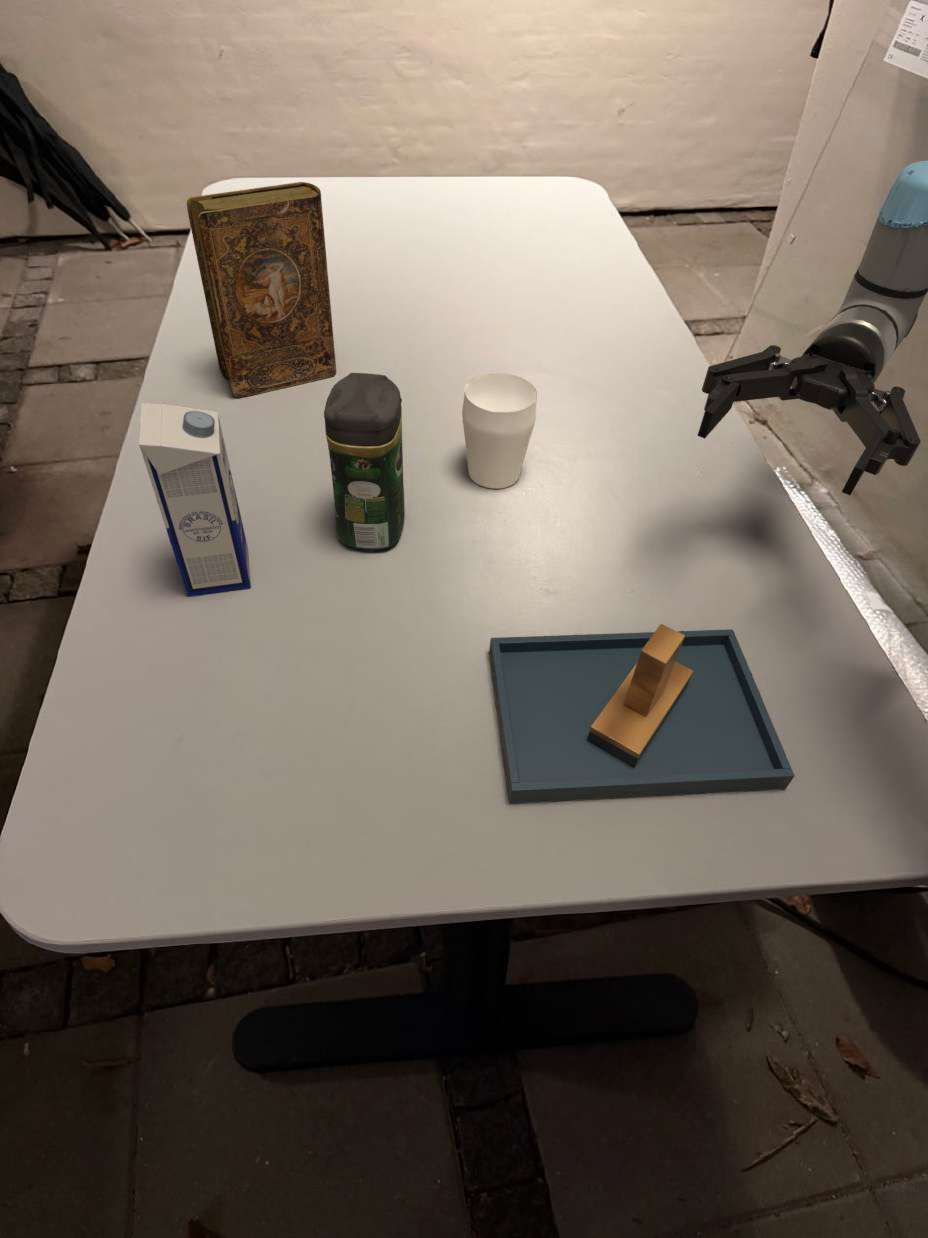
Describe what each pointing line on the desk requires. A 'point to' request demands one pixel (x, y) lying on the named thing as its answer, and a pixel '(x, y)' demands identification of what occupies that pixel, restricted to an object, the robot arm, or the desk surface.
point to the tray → (581, 688)
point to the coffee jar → (366, 460)
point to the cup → (497, 427)
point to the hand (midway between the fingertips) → (775, 452)
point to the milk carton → (195, 496)
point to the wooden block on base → (643, 699)
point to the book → (266, 285)
